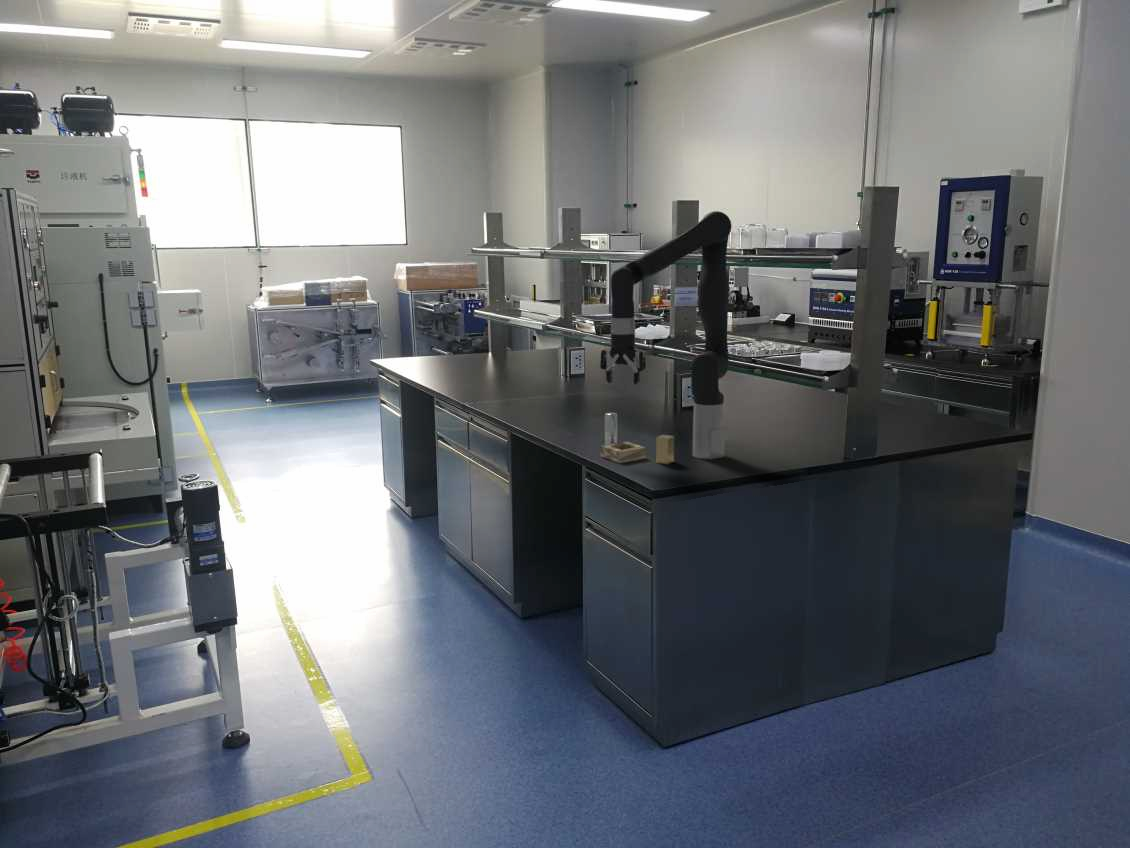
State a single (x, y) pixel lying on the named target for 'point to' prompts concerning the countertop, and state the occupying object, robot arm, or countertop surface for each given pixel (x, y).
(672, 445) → the yellow brown rectangular block
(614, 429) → the cylinder
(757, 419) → the countertop surface
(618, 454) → the socket block
